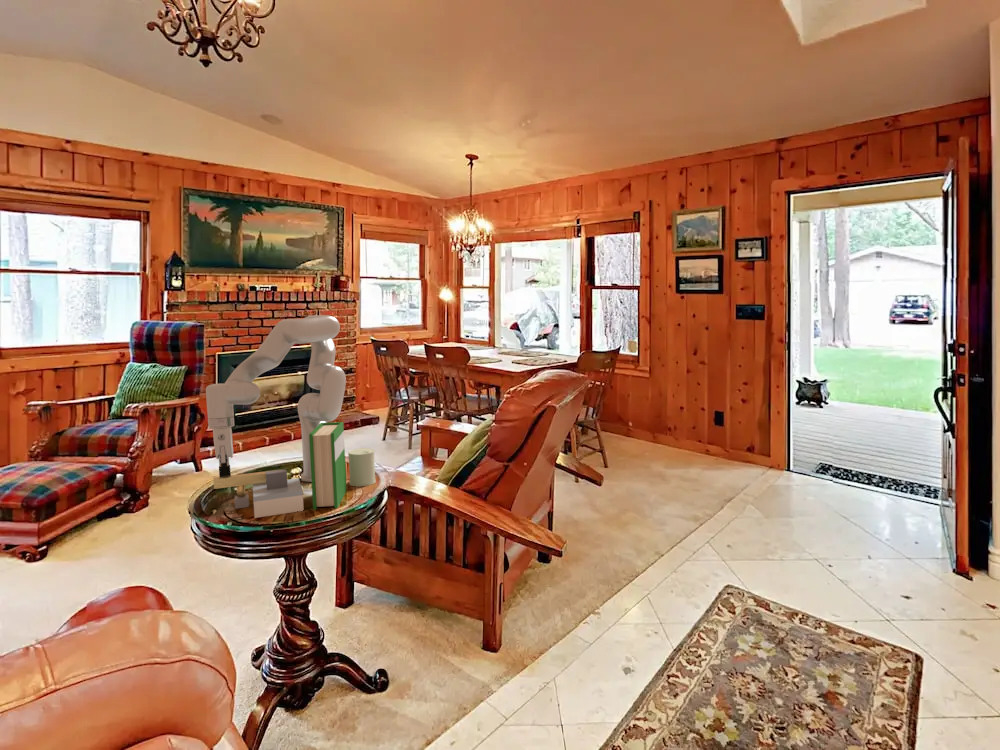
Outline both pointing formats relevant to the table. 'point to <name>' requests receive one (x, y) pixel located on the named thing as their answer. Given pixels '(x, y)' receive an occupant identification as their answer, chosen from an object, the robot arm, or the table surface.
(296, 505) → the box
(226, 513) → the table surface
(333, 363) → the robot arm
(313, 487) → the hardback book
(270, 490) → the snap lid
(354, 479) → the can
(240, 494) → the tan wooden plank
